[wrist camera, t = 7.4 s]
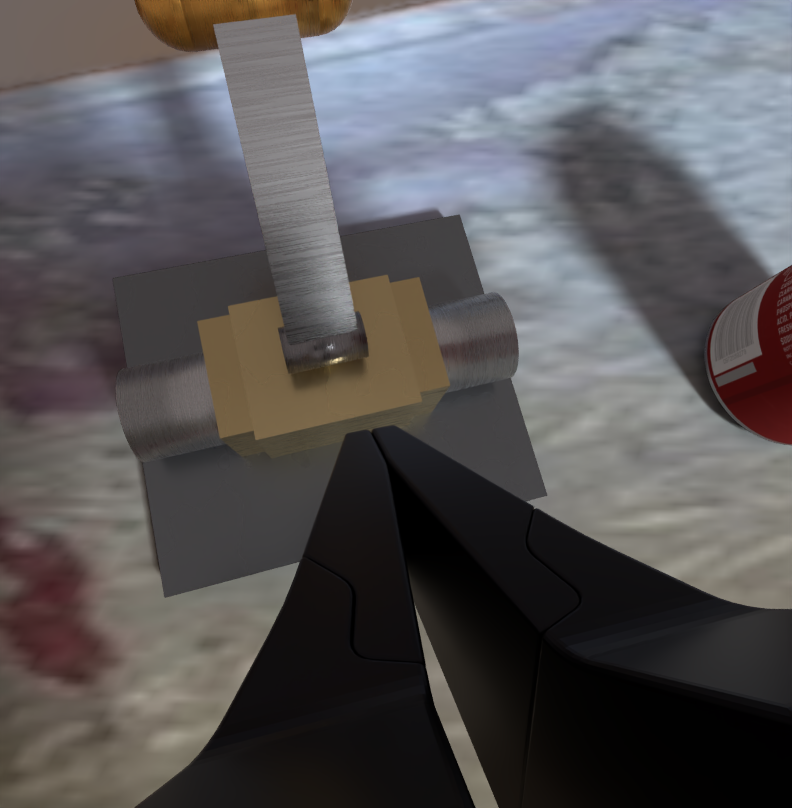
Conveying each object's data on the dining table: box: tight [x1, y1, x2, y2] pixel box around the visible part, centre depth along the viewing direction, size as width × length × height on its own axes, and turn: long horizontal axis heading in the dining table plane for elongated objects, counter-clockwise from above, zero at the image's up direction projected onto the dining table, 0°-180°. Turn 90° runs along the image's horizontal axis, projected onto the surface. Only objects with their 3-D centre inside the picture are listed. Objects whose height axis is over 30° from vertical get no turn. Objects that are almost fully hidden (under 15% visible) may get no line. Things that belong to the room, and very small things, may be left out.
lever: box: [135, 0, 369, 374], centre depth 15 cm, size 2×5×11 cm
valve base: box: [113, 215, 547, 598], centre depth 20 cm, size 12×14×5 cm
